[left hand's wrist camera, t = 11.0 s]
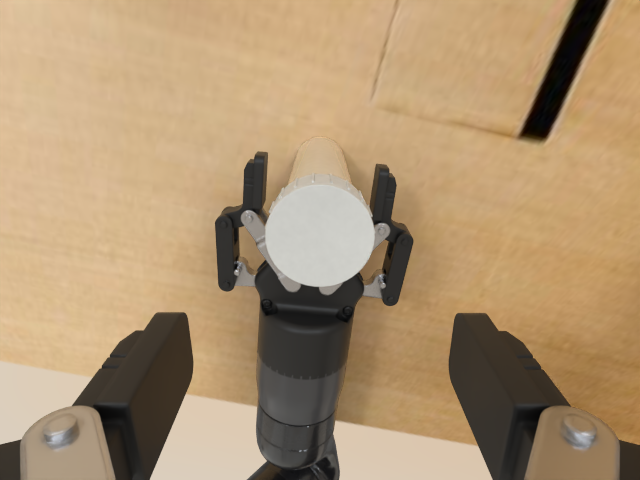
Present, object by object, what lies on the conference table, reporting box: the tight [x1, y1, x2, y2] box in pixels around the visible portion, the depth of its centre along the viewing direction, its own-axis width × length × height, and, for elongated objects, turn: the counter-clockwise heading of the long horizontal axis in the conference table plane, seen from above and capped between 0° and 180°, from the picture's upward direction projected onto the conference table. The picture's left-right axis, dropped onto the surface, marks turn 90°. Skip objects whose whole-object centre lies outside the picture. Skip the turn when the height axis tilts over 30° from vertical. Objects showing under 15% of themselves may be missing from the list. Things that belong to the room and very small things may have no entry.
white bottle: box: [288, 137, 352, 185], centre depth 28 cm, size 4×4×18 cm
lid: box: [265, 173, 375, 287], centre depth 20 cm, size 5×5×2 cm
